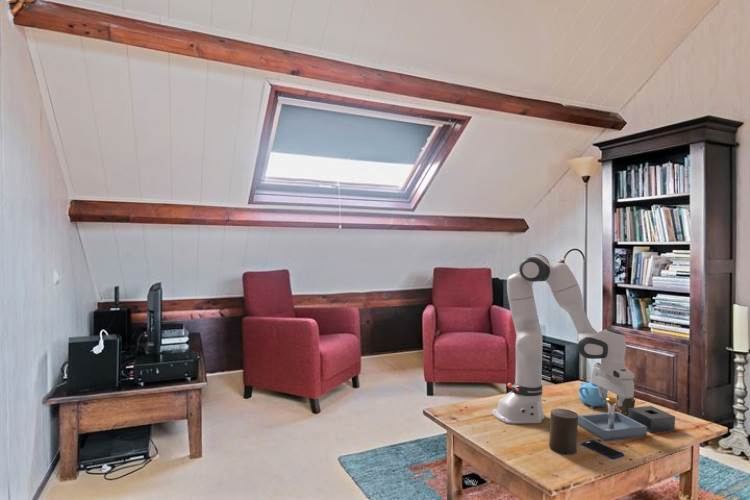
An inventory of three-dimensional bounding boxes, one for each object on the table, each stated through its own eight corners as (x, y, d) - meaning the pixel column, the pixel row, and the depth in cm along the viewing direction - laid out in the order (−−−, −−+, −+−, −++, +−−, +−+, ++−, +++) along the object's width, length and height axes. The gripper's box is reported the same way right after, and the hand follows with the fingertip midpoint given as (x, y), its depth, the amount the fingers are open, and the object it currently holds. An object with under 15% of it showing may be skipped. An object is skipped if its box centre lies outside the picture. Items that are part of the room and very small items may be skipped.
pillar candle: (563, 456, 170) (564, 416, 169) (543, 445, 179) (545, 406, 178) (582, 452, 174) (584, 412, 173) (562, 441, 183) (564, 403, 182)
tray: (604, 441, 183) (604, 431, 183) (577, 424, 199) (577, 415, 199) (646, 436, 188) (646, 426, 188) (616, 420, 204) (617, 411, 203)
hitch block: (650, 433, 191) (651, 418, 191) (628, 421, 203) (628, 408, 202) (674, 430, 194) (675, 416, 194) (650, 419, 206) (651, 405, 205)
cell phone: (592, 441, 184) (592, 439, 184) (625, 456, 172) (625, 454, 172) (579, 445, 180) (579, 443, 180) (613, 460, 168) (613, 458, 168)
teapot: (576, 406, 221) (577, 383, 220) (581, 396, 233) (581, 374, 232) (606, 412, 214) (606, 389, 213) (609, 401, 226) (610, 379, 225)
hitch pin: (610, 430, 191) (610, 400, 191) (603, 426, 195) (603, 397, 195) (618, 429, 192) (619, 399, 192) (611, 425, 196) (611, 396, 196)
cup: (637, 418, 206) (637, 400, 206) (619, 417, 208) (619, 399, 207) (631, 412, 214) (632, 395, 213) (614, 410, 215) (614, 393, 215)
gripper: (588, 361, 202) (586, 393, 203) (624, 376, 182) (622, 411, 183) (600, 361, 203) (599, 392, 204) (638, 375, 184) (635, 410, 184)
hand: (610, 401), depth 193 cm, fingers open, 8 cm apart
